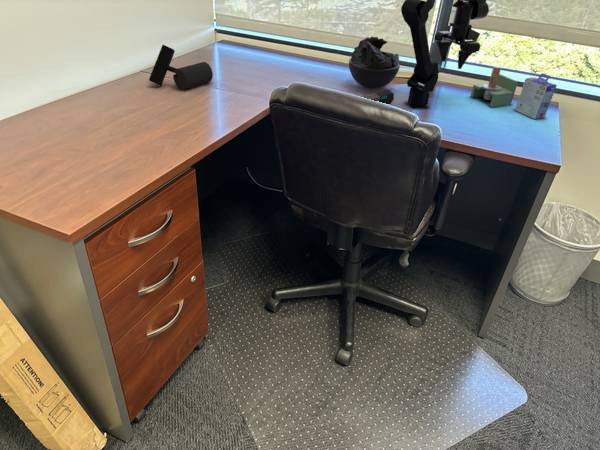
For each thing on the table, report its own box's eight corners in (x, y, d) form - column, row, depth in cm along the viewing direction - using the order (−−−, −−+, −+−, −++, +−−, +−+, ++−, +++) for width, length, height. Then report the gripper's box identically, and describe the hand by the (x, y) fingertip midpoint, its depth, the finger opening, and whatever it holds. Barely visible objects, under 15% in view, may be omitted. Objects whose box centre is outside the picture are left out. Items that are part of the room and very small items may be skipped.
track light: (217, 69, 185) (170, 47, 183) (212, 62, 171) (161, 38, 169) (203, 105, 187) (156, 84, 185) (196, 101, 173) (145, 78, 171)
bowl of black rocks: (378, 77, 200) (384, 31, 189) (405, 93, 186) (414, 43, 175) (337, 82, 193) (342, 34, 182) (362, 98, 178) (369, 47, 167)
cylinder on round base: (485, 102, 179) (494, 69, 172) (475, 95, 184) (484, 64, 177) (500, 101, 180) (510, 69, 173) (490, 95, 186) (499, 63, 179)
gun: (396, 110, 168) (392, 85, 162) (347, 132, 166) (341, 108, 160) (390, 106, 171) (386, 81, 165) (342, 127, 170) (336, 103, 163)
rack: (491, 107, 177) (498, 84, 172) (470, 96, 186) (476, 74, 181) (510, 104, 181) (518, 81, 176) (488, 94, 190) (495, 72, 184)
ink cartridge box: (545, 117, 171) (560, 78, 163) (535, 119, 169) (549, 80, 160) (524, 108, 178) (537, 70, 170) (514, 110, 176) (526, 71, 168)
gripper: (497, 25, 162) (485, 70, 171) (461, 14, 175) (452, 56, 184) (472, 27, 158) (461, 73, 167) (438, 15, 171) (429, 58, 180)
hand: (451, 65), depth 175 cm, fingers open, 9 cm apart
